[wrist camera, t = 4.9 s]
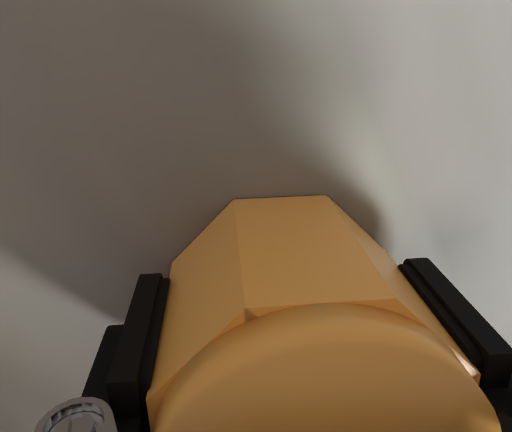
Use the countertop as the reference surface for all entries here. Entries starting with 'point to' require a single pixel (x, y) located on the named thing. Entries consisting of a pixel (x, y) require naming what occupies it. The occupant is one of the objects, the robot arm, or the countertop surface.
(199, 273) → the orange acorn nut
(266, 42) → the countertop surface
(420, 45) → the countertop surface
